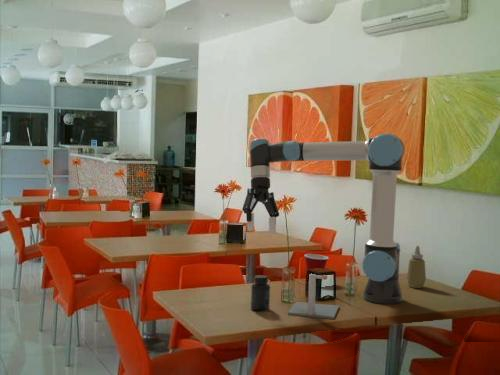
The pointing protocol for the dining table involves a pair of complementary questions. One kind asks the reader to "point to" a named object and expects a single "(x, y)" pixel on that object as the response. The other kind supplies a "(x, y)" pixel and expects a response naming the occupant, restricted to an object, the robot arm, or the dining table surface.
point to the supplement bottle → (260, 294)
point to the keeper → (312, 308)
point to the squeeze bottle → (416, 270)
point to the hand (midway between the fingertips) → (261, 232)
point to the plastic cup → (315, 261)
